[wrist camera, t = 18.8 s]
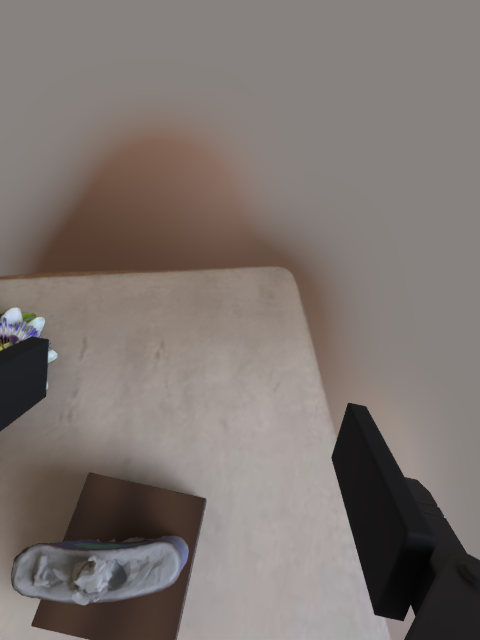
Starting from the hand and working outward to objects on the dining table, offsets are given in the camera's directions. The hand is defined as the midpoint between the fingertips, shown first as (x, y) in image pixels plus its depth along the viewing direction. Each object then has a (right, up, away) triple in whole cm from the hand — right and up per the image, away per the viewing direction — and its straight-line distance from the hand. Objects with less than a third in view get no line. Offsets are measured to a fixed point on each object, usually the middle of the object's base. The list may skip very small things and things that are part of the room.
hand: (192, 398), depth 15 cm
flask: (-7, -15, +12) cm, 20 cm away
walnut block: (-7, -17, +17) cm, 25 cm away
